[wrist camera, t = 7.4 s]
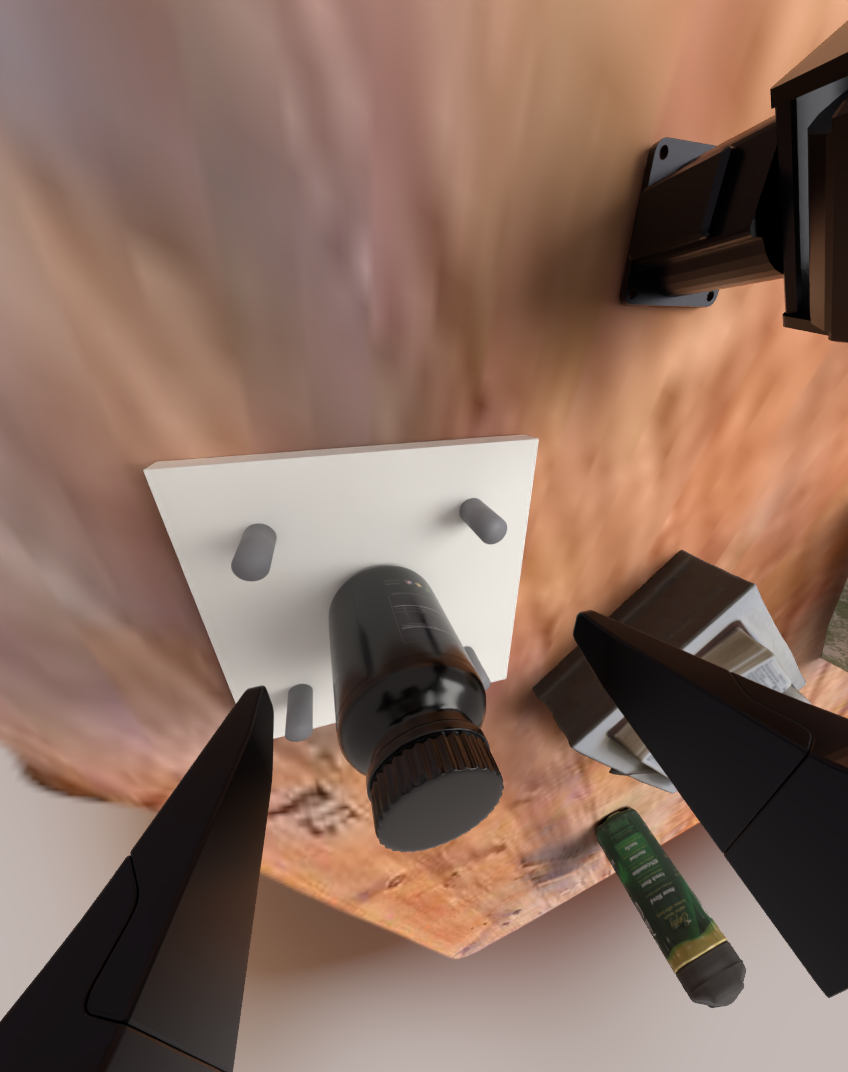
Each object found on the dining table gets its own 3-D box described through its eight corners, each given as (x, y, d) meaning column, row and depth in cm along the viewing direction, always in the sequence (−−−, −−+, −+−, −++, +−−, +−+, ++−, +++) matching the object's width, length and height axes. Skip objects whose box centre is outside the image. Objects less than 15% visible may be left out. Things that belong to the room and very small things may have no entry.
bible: (600, 761, 46) (664, 852, 37) (512, 671, 32) (583, 782, 24) (747, 656, 44) (850, 727, 36) (722, 514, 30) (879, 573, 22)
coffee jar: (589, 824, 54) (704, 1019, 38) (632, 799, 54) (764, 981, 38) (596, 843, 59) (701, 1023, 43) (636, 820, 59) (754, 990, 43)
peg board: (525, 434, 21) (571, 450, 17) (498, 665, 30) (524, 709, 27) (156, 461, 17) (108, 492, 13) (255, 725, 26) (244, 789, 22)
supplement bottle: (400, 656, 25) (461, 867, 14) (309, 632, 22) (303, 878, 11) (452, 581, 23) (563, 760, 13) (360, 543, 20) (410, 739, 10)
